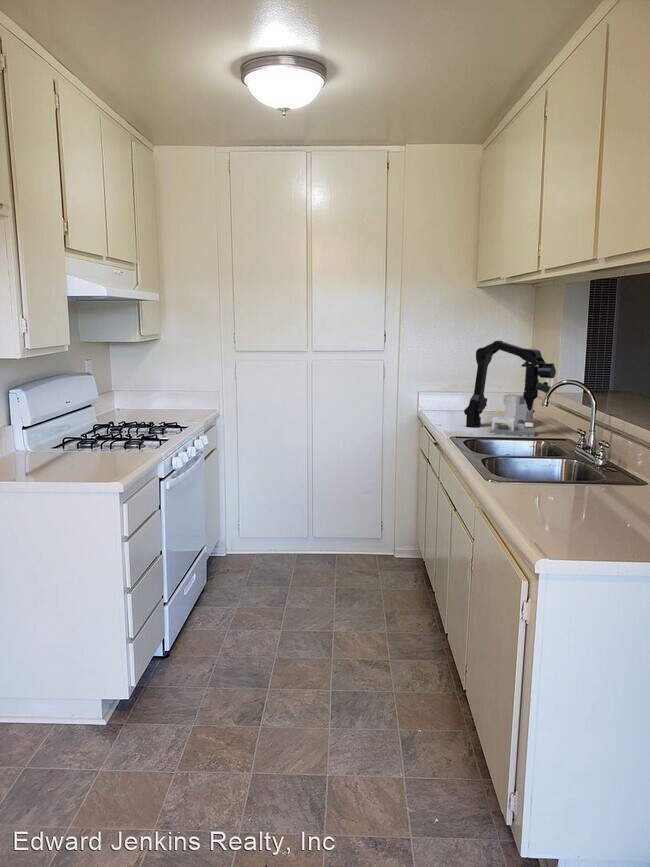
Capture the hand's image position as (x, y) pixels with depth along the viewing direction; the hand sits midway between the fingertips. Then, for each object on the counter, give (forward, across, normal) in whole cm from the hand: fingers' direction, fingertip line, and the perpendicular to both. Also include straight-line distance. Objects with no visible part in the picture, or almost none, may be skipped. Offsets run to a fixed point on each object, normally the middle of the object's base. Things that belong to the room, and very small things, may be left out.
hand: (529, 410), depth 305 cm
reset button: (+9, 0, +12) cm, 15 cm away
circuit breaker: (+12, +22, +5) cm, 25 cm away
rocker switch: (+8, 0, 0) cm, 8 cm away
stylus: (+4, 0, 0) cm, 4 cm away
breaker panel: (+11, 0, +7) cm, 13 cm away
